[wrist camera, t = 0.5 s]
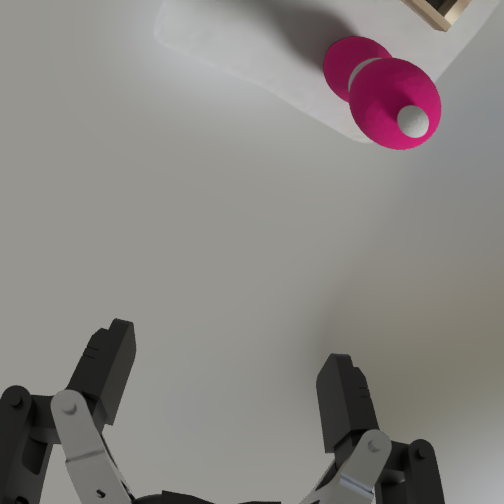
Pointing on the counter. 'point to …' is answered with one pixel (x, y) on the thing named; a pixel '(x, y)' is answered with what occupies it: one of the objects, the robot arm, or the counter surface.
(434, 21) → the cup holder
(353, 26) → the counter surface
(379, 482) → the robot arm
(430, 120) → the pepper mill
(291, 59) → the counter surface
